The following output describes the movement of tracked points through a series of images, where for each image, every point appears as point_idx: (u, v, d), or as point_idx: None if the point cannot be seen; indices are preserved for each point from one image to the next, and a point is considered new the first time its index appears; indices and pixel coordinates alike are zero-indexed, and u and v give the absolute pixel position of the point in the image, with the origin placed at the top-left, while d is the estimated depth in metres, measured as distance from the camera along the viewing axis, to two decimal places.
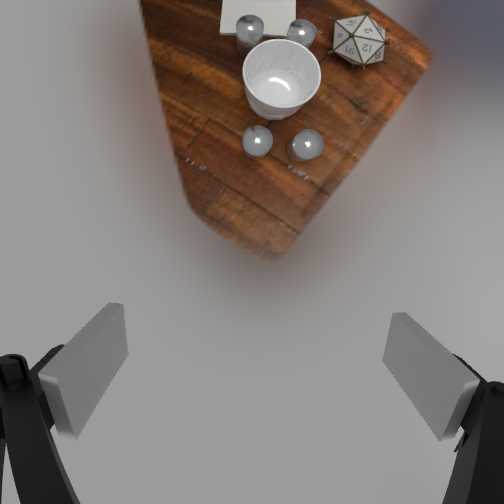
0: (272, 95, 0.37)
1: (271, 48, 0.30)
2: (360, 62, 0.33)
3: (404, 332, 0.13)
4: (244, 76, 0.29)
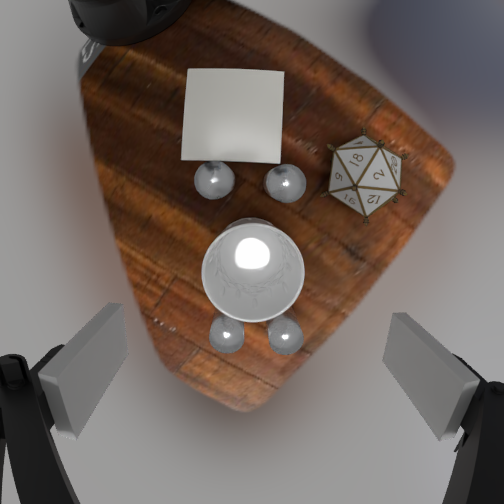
0: (248, 255, 0.33)
1: None
2: (362, 214, 0.29)
3: (404, 332, 0.13)
4: (204, 283, 0.25)
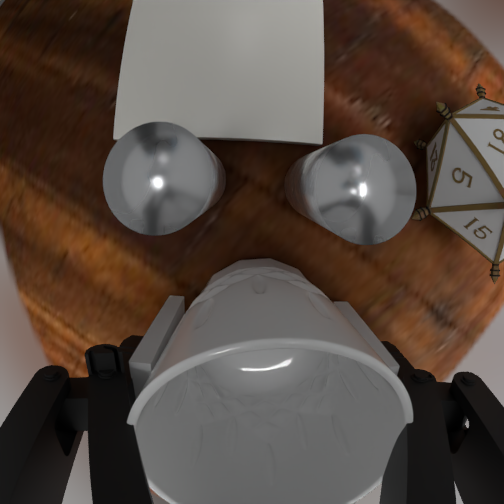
0: None
1: None
2: (491, 259, 0.12)
3: None
4: None
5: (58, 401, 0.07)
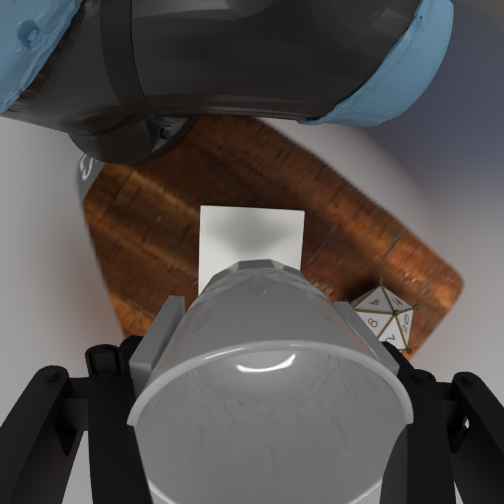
0: None
1: None
2: None
3: None
4: None
5: (58, 401, 0.07)
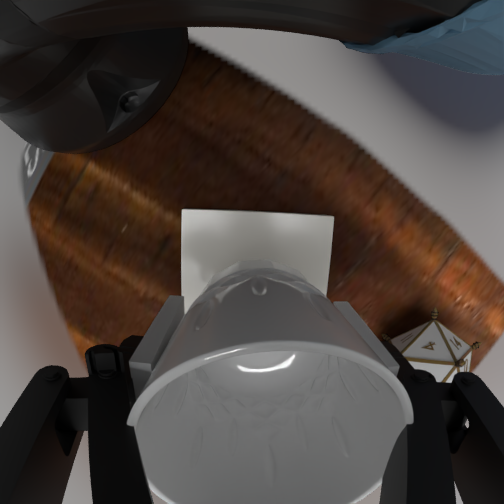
0: None
1: None
2: None
3: None
4: None
5: (58, 401, 0.07)
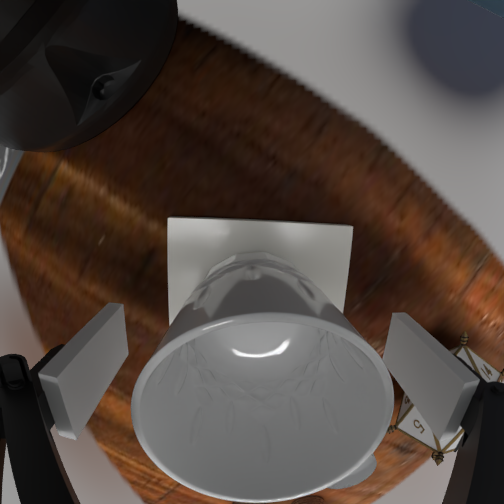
0: (249, 328, 0.16)
1: None
2: None
3: (403, 332, 0.13)
4: (143, 443, 0.08)
5: None
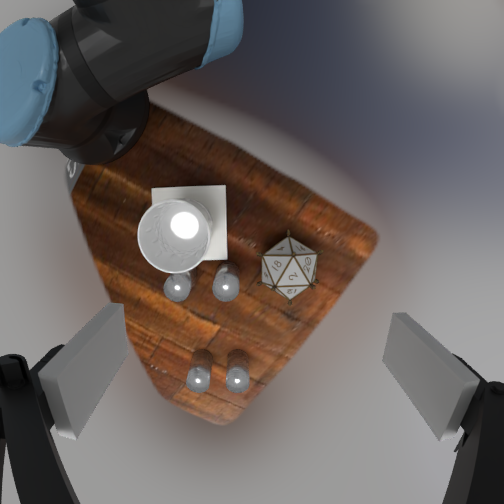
0: (183, 228, 0.41)
1: (164, 203, 0.34)
2: (286, 298, 0.42)
3: (403, 332, 0.13)
4: (140, 245, 0.33)
5: None
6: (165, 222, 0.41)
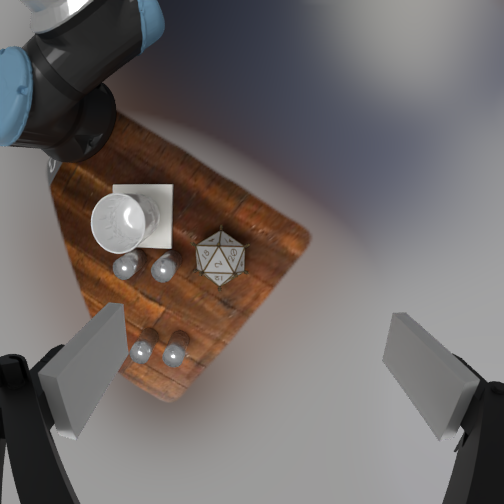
0: (135, 219, 0.47)
1: (114, 196, 0.40)
2: (216, 284, 0.47)
3: (404, 332, 0.13)
4: (92, 229, 0.39)
5: None
6: (120, 213, 0.47)
